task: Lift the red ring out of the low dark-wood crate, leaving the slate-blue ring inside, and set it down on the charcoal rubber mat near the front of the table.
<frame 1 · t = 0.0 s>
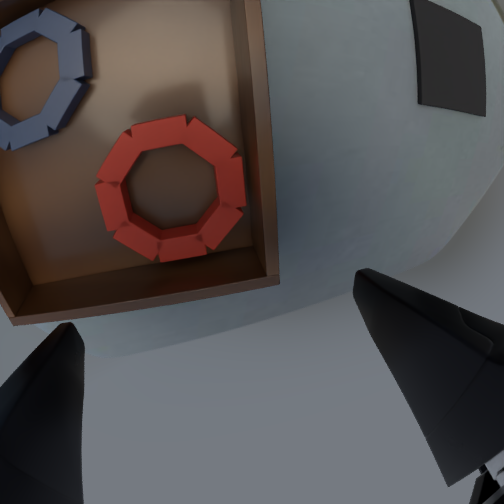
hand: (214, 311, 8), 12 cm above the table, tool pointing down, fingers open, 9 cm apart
red ring: (171, 186, 18), point 1 cm above the table, touching crate
blue ring: (31, 78, 12), point 1 cm above the table, touching crate
mat: (453, 58, 17), on the table
crate: (96, 127, 15), on the table
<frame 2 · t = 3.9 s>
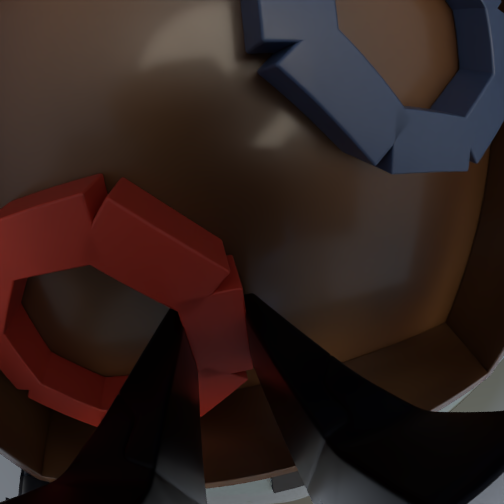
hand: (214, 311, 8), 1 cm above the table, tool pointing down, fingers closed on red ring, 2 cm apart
red ring: (102, 320, 8), point 1 cm above the table, touching crate, gripper
blue ring: (395, 17, 5), point 1 cm above the table, touching crate
mat: (321, 466, 22), on the table
crate: (233, 150, 7), on the table
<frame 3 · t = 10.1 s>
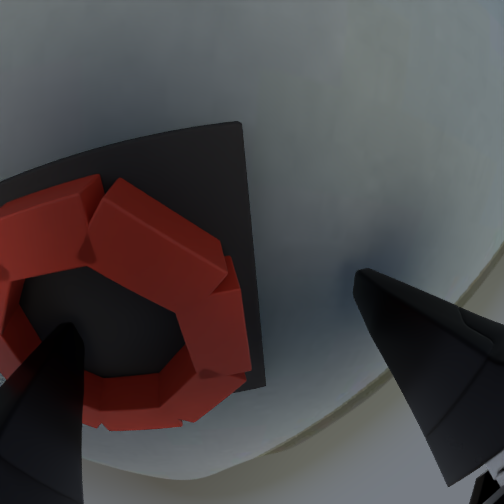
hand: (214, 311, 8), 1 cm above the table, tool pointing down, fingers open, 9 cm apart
red ring: (100, 321, 8), resting on mat
mat: (104, 311, 9), on the table
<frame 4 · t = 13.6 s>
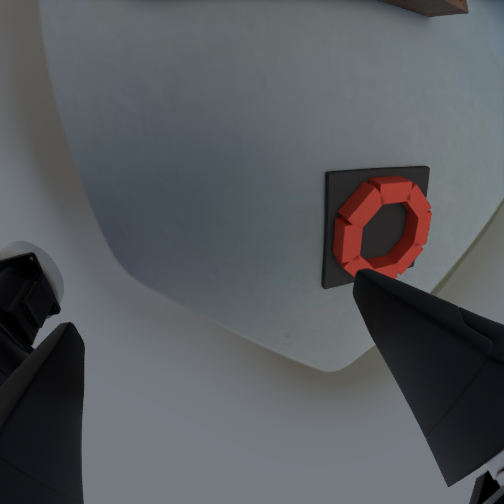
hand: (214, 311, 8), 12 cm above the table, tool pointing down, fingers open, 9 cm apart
red ring: (380, 227, 23), resting on mat
mat: (377, 225, 23), on the table
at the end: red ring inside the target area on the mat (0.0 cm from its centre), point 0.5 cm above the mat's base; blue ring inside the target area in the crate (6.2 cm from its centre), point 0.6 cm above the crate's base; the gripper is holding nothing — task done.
